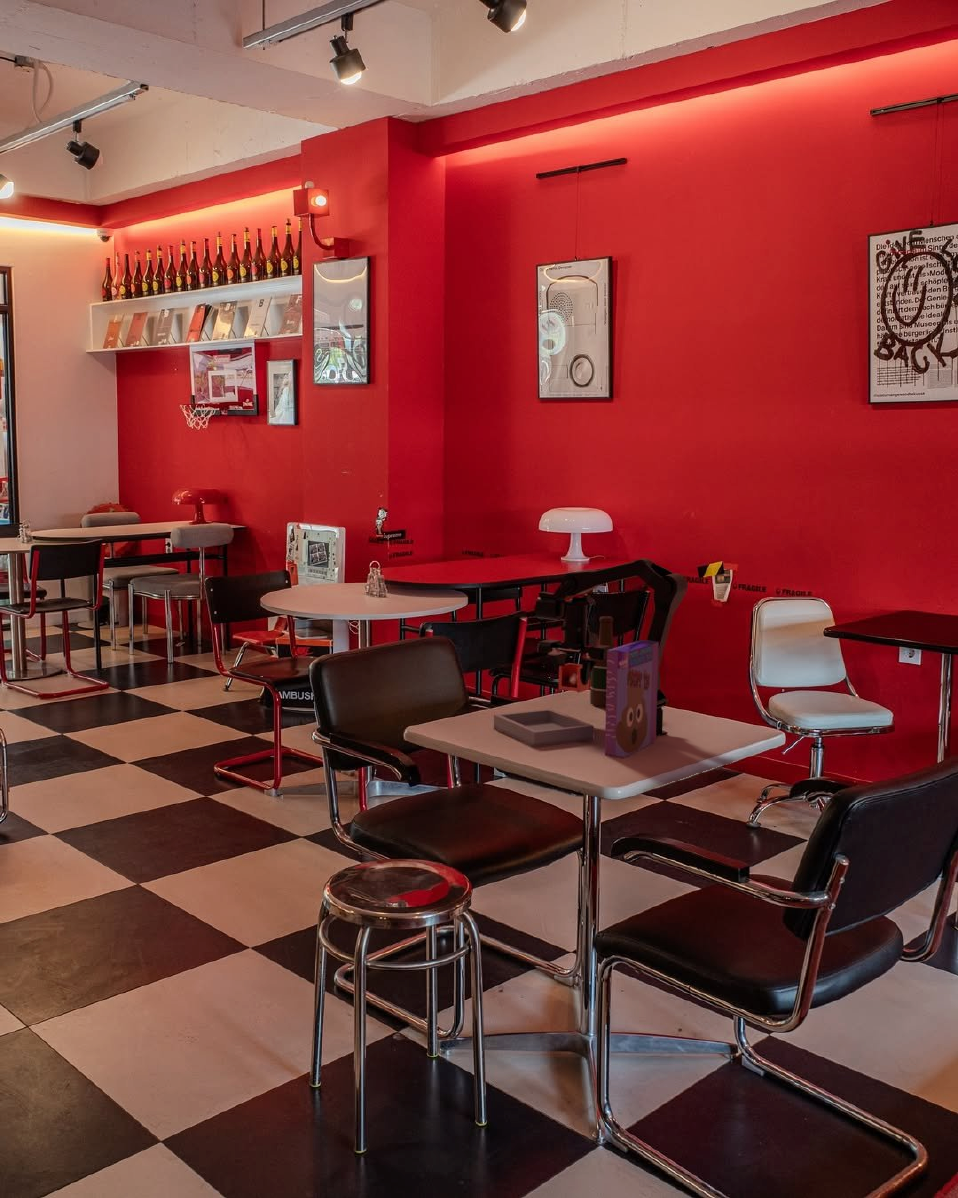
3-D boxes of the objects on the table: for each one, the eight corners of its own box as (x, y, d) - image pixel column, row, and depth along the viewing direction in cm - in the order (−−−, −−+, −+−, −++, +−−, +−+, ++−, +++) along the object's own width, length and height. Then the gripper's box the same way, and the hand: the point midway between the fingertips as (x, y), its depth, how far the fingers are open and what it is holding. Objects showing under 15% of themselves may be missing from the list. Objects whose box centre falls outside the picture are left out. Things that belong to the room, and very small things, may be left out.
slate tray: (593, 740, 265) (593, 725, 265) (534, 747, 258) (534, 732, 257) (550, 722, 283) (550, 708, 282) (493, 728, 276) (494, 714, 275)
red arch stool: (589, 689, 283) (589, 665, 282) (579, 692, 278) (580, 668, 278) (568, 686, 286) (568, 663, 285) (558, 689, 282) (559, 666, 281)
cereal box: (624, 758, 249) (627, 651, 246) (604, 755, 252) (607, 649, 249) (655, 742, 264) (658, 641, 261) (636, 739, 266) (639, 639, 263)
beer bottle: (618, 702, 308) (620, 615, 305) (619, 708, 300) (621, 619, 297) (589, 701, 308) (591, 614, 305) (589, 707, 301) (591, 618, 298)
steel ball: (582, 686, 281) (582, 674, 281) (572, 686, 280) (572, 674, 280) (576, 684, 284) (576, 673, 284) (566, 685, 283) (566, 673, 283)
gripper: (623, 621, 282) (622, 682, 283) (558, 615, 292) (557, 674, 294) (602, 626, 272) (601, 689, 274) (536, 620, 283) (535, 681, 285)
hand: (574, 683), depth 282 cm, fingers closed on red arch stool, 6 cm apart
